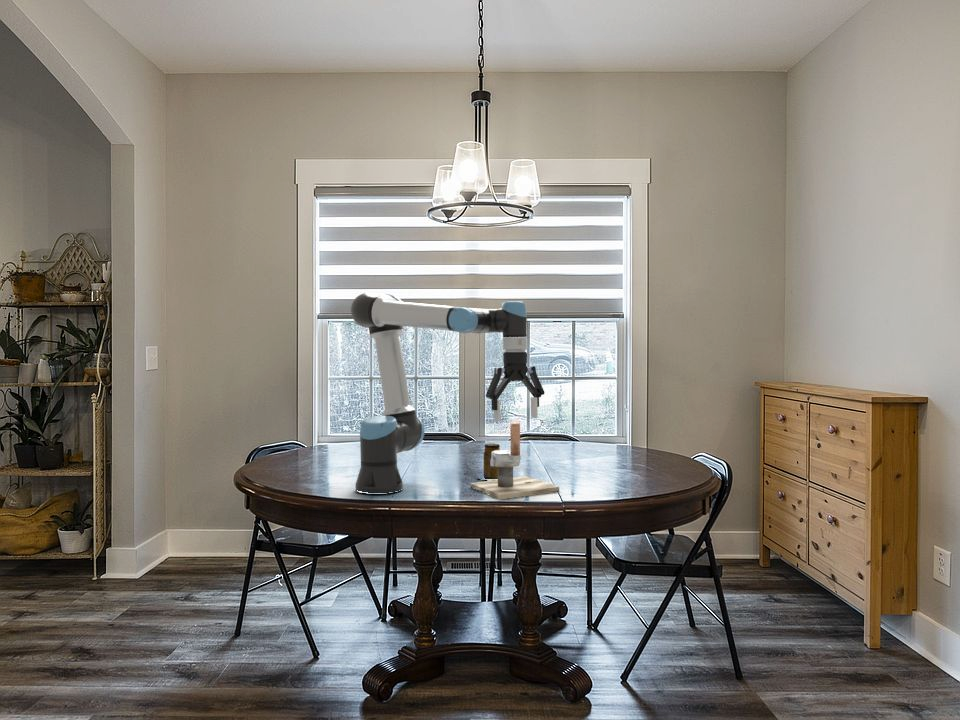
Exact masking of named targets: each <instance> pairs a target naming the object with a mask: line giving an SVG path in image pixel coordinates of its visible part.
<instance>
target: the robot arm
mask: <svg viewBox="0 0 960 720" xmlns="http://www.w3.org/2000/svg"><path fill="white" fill-rule="evenodd" d="M350 314H351V317H352V319H353V321H354V322H355V323H356V324H357V325H359V326H360V327H363V328H366V329H368V332H369V336H370V337H371V338H372V339H373V340H374V342H375V349H376V357H377V362H378V369H379V370H378V371H379V376H380V383H381V390H382V396H383V403H384V411H383V412H382V414H381V415H377V416H371V417H368V418H366V419H364V420H362V421H361V423H360V428H359V429H360V430H359V436H360V437H359V440H360V441H359V443H360V468H359V471H358V475H357V478H356V480H355V481H356V482H355V485H354V486H355V488H356V489H355V491H356V490H358V491H362V492H368V493H389V492H395V491H399V490H401V489H404V487H403V485H404V484H403V480H402V477H401V474H400V471H399V468H398V454H399V453H402V452H409V451H411V450H413V449H415V448H416V447H418V446H419V445H420V444H421V443H422V441H423V439H424V437H425V426H424V423H423V421H422V419H420V418H419V417H418V416H417V411H416V409H415V408H414V407H413V406H412V405H411V403H410V396H409V389H408V382H407V376H406V374H407V373H406V368H405V367H406V366H405V361H404V354H403V348H402V342H401V341H402V340H401V335H402V334H403V333H404V330H405V329H404V327H410V328H419V329H428V330H439V331H449V332H457V333H459V334H468V333H469V334H470V333H471V334H492V333H499V334H500V333H502V350H503V354H502V358H503V359H502V363H503V367H498V366H497V367H494V373H493V376H492V379H491V381H490V384H489V386H488V389H487V391H486V394H485V397H486V398H488V399H490V400H491V410H492V411H493V421H494V422H501V420H502V419H501V414H502V413H501V399H500V397H501V395H502V393H503V392H504V391H505V389H506V388H507V386H508V385H509V383H511V382H521V383H522V384H523V385H524V386H525V388H527V389H526V390H528V392H529V393H530V394H531V395H532V396H531V397H530V418H533V419H538V417H539V416H538V408H539V407H540V398H541V397H542V396H543V395H545V389H544V388H543V385H542V383H541V380H540V379H539V376H538V373H537V368H536V366H535V365H534V366H533V365H529V366H527V365H528V353H527V350H528V333H527V332H528V328H527V327H528V324H527V323H528V315H527V305H526V303H525V302H524V301H505V302H502V303H501V308H489V309H488V308H476V307H475V308H473V307H467V306H452V305H442V304H441V305H440V304H429V303H418V302H409V301H408V302H406V301H405V302H404V301H402V299H400V298H399V297H398V296H395V295H392V294H390V293H385V294H384V293H373V292H364V293H361V294H359V295H358V296H356V297H355V298H354V299H353V301H352V303H351V306H350ZM527 373H528V375H529V377H530V378H529V377H528V375H527ZM503 374H504V375H503ZM502 375H503V377H502ZM501 378H502V379H501ZM500 380H501V381H500ZM530 380H531V381H530Z"/></svg>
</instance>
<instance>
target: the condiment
mask: <svg viewBox="0 0 960 720" xmlns="http://www.w3.org/2000/svg"><path fill="white" fill-rule="evenodd" d="M500 447H501V446H500V444H499V443H485V444H484V451H483V458H482V459H483V476H484V478H485V479H498V467H495V466H493V467H492V466H490V460H491V452H492V451H496V450H501V449H500ZM483 476H482V477H483Z"/></svg>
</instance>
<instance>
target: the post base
mask: <svg viewBox="0 0 960 720" xmlns="http://www.w3.org/2000/svg"><path fill="white" fill-rule="evenodd" d="M469 487H472V488H475V489H477V490H480V491H482V492H484V493H483V494H485V493H486V494H485V495H487V494H489V495H488V496H490V495H491V496H490V497H492V496H493V497H492V498H495V497H496V498H495V499H497V498H498V499H497V500H500V501H501V499H502V500H507V498H509V499H515V498H514V497H516V498H521V497H522V496H523V497H527V496H528V497H529V495H530V496H536V494H537V495H541V494H543V493H544V494H549V492H551V493H556V491H558V492H560V485H559V486H558V485H556V484H552V483H550V482H546V481H543V480H539V479H536V478H534V477H530V476H527V475H526V476H525V475H524V476H518V477H514V467H498V480H493V481H479V482H477V481H476V482H470V485H469ZM472 488H471V489H472ZM475 489H474V490H475ZM477 490H476V491H477ZM480 491H479V492H480ZM482 492H481V493H482ZM523 497H522V498H523Z"/></svg>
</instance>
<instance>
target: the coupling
mask: <svg viewBox="0 0 960 720" xmlns="http://www.w3.org/2000/svg"><path fill="white" fill-rule="evenodd" d="M509 428H510V429H509V430H510V443H509V444H510V449H500V450H496V451H492V452H491V460H490V466H492V467H493V466H495V467H513V468H514V467H518V466H520V464H521V460H522V459H521V458H522V455H521V423H520V422H510V426H509Z"/></svg>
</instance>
